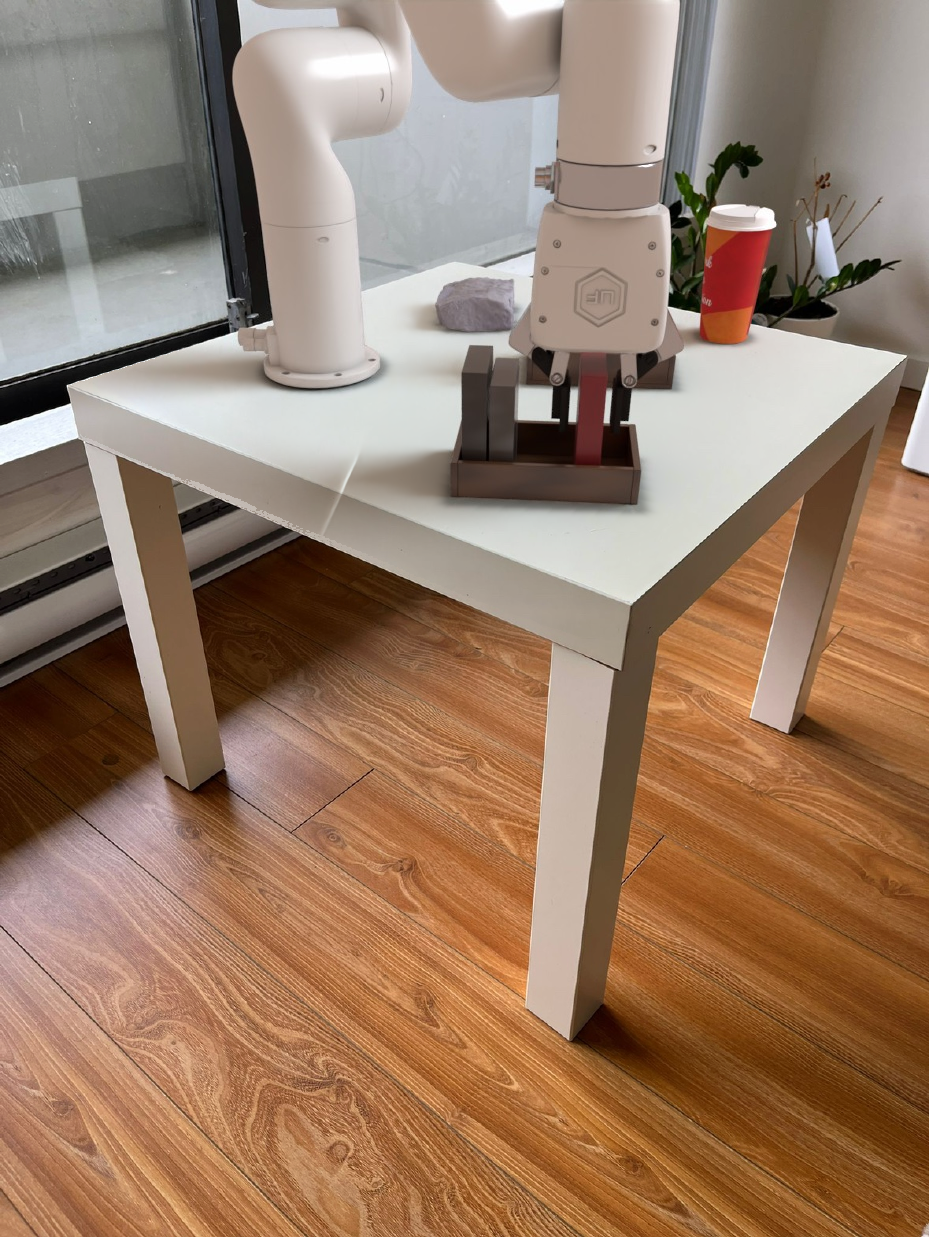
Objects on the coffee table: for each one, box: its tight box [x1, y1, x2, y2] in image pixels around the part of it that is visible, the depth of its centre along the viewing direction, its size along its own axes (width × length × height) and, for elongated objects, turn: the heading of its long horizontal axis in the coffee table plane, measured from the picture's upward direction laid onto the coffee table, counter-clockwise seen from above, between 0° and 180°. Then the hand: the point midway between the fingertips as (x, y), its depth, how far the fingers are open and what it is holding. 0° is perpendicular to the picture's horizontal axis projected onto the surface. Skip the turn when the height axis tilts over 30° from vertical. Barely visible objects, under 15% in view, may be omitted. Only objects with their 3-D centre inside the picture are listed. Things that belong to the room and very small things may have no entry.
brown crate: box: [449, 344, 642, 506], centre depth 77 cm, size 15×9×10 cm, turn 84°
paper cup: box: [699, 203, 777, 345], centre depth 107 cm, size 8×8×14 cm
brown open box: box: [525, 350, 677, 390], centre depth 99 cm, size 15×9×10 cm, turn 84°
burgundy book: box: [573, 352, 608, 466], centre depth 77 cm, size 2×6×10 cm, turn 174°
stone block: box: [434, 276, 515, 333], centre depth 117 cm, size 12×5×10 cm
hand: (588, 425), depth 77 cm, fingers open, 3 cm apart
